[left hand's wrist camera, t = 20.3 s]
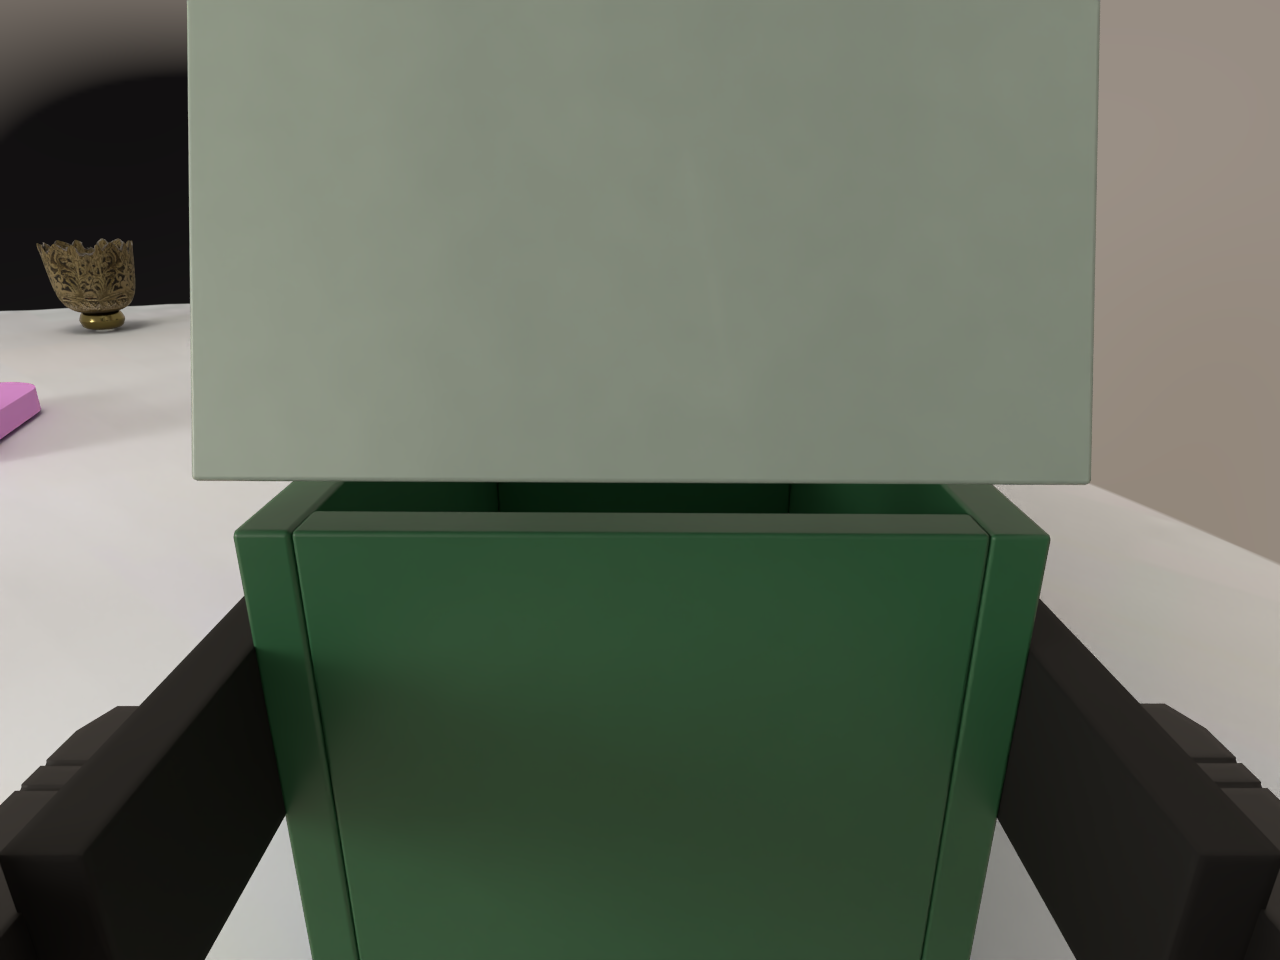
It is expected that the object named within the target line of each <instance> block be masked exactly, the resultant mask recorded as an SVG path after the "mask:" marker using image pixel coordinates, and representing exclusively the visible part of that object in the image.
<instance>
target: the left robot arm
mask: <svg viewBox="0 0 1280 960" xmlns="http://www.w3.org/2000/svg"><path fill="white" fill-rule="evenodd" d="M46 761H47V763H46V765H45V766H40V767H39V768H38V769H37V770H36V771H35V772H34V773H33V774H32V775H31V776H30V777H29V778H28V779H27V780H26V781H25V782H24V783H23V784H22V787H21V790H20V791H14V792H13V793H12V794H11V795H10V796H9V797H8V798H7V799H6V800H5V801H4V802H3V803H2V804H1V805H0V960H205V958H206V956H207V955H208V953H209V951H210V949H211V947H212V946H213V944H214V942H215V940H216V938H217V937H218V935H219V933H220V931H221V930H222V928H223V926H224V924H225V922H226V921H227V919H228V917H229V915H230V913H231V912H232V910H233V908H234V906H235V904H236V903H237V901H238V899H239V897H240V896H241V894H242V892H243V890H244V888H245V887H246V885H247V883H248V881H249V879H250V878H251V876H252V874H253V872H254V870H255V869H256V867H257V865H258V863H259V862H260V860H261V858H262V856H263V854H264V853H265V851H266V849H267V847H268V845H269V844H270V842H271V840H272V838H273V836H274V835H275V833H276V831H277V829H278V827H279V826H280V824H281V822H282V820H283V819H284V817H285V815H286V811H285V806H284V800H283V795H282V790H281V784H280V779H279V774H278V768H277V763H276V758H275V752H274V747H273V742H272V736H271V731H270V726H269V720H268V715H267V710H266V705H265V699H264V694H263V689H262V683H261V678H260V673H259V667H258V662H257V657H256V651H255V646H254V644H253V638H252V633H251V628H250V622H249V617H248V612H247V606H246V601H245V596H244V597H243V598H242V599H241V600H240V601H239V602H238V603H237V604H236V605H235V606H234V607H233V608H232V609H231V610H230V611H229V612H228V614H227V615H226V616H225V617H224V618H223V619H222V620H221V621H220V622H219V623H218V624H217V625H216V626H215V627H214V628H213V629H212V630H211V631H210V632H209V633H208V635H207V636H206V637H205V638H204V639H203V640H202V641H201V642H200V643H199V644H198V645H197V646H196V647H195V648H194V649H193V650H192V651H191V652H190V653H189V654H188V655H187V657H186V658H185V659H184V660H183V661H182V662H181V663H180V664H179V665H178V666H177V667H176V668H175V669H174V670H173V671H172V672H171V673H170V674H169V675H168V676H167V678H166V679H165V680H164V681H163V682H162V683H161V684H160V685H159V686H158V687H157V688H156V689H155V690H154V691H153V692H152V693H151V694H150V695H149V696H148V697H147V699H146V700H145V701H144V702H143V703H142V704H141V705H140V706H117V707H115V708H114V709H112V710H110V711H109V712H107V713H105V714H104V715H102V716H100V717H99V718H97V719H95V720H94V721H92V722H90V723H89V724H87V725H85V726H84V727H82V728H80V729H79V730H77V731H76V732H75V733H74V734H73V735H72V736H71V737H70V738H69V739H68V740H67V741H66V742H65V743H64V744H62V745H61V746H60V747H59V748H58V749H57V750H56V751H55V752H54V753H53V754H52V755H51V756H50V757H49V758H48V759H47V760H46ZM997 818H998V820H999V822H1000V824H1001V825H1002V827H1003V829H1004V831H1005V833H1006V834H1007V836H1008V838H1009V840H1010V842H1011V843H1012V845H1013V847H1014V849H1015V851H1016V852H1017V854H1018V856H1019V858H1020V860H1021V861H1022V863H1023V865H1024V867H1025V868H1026V870H1027V872H1028V874H1029V876H1030V877H1031V879H1032V881H1033V883H1034V885H1035V886H1036V888H1037V890H1038V892H1039V894H1040V895H1041V897H1042V899H1043V901H1044V902H1045V904H1046V906H1047V908H1048V910H1049V911H1050V913H1051V915H1052V917H1053V919H1054V920H1055V922H1056V924H1057V926H1058V928H1059V929H1060V931H1061V933H1062V935H1063V936H1064V938H1065V940H1066V942H1067V944H1068V945H1069V947H1070V949H1071V951H1072V953H1073V954H1074V956H1075V958H1076V960H1280V800H1279V799H1278V798H1277V797H1276V796H1275V795H1274V794H1273V793H1272V792H1271V791H1270V790H1269V789H1268V788H1262V787H1261V781H1260V780H1258V779H1257V778H1256V777H1255V776H1254V775H1253V774H1252V773H1251V772H1250V771H1249V770H1248V769H1247V768H1246V767H1245V766H1244V765H1243V764H1242V763H1237V762H1236V757H1235V756H1234V755H1233V754H1232V753H1231V752H1230V751H1229V750H1228V749H1227V748H1225V747H1224V746H1223V745H1222V744H1221V743H1220V742H1219V741H1218V740H1217V739H1216V738H1215V737H1214V736H1213V735H1212V734H1211V733H1210V732H1209V731H1208V730H1207V729H1206V728H1204V727H1203V726H1201V725H1199V724H1198V723H1196V722H1194V721H1193V720H1191V719H1189V718H1188V717H1186V716H1184V715H1183V714H1181V713H1179V712H1178V711H1176V710H1174V709H1173V708H1171V707H1169V706H1168V705H1166V704H1139V702H1138V701H1137V700H1136V699H1135V698H1134V697H1133V696H1132V695H1131V694H1130V693H1129V692H1128V691H1127V690H1126V689H1125V688H1124V687H1123V686H1122V685H1121V684H1120V683H1119V681H1118V680H1117V679H1116V678H1115V677H1114V676H1113V675H1112V674H1111V673H1110V672H1109V671H1108V670H1107V669H1106V668H1105V667H1104V666H1103V665H1102V664H1101V663H1100V662H1099V661H1098V659H1097V658H1096V657H1095V656H1094V655H1093V654H1092V653H1091V652H1090V651H1089V650H1088V649H1087V648H1086V647H1085V646H1084V645H1083V644H1082V643H1081V642H1080V641H1079V640H1078V638H1077V637H1076V636H1075V635H1074V634H1073V633H1072V632H1071V631H1070V630H1069V629H1068V628H1067V627H1066V626H1065V625H1064V624H1063V623H1062V622H1061V621H1060V620H1059V619H1058V618H1057V616H1056V615H1055V614H1054V613H1053V612H1052V611H1051V610H1050V609H1049V608H1048V607H1047V606H1046V605H1045V604H1044V603H1043V602H1042V601H1041V600H1040V599H1039V601H1038V607H1037V612H1036V617H1035V622H1034V627H1033V633H1032V638H1031V643H1030V648H1029V653H1028V659H1027V664H1026V669H1025V674H1024V679H1023V685H1022V690H1021V695H1020V700H1019V705H1018V711H1017V716H1016V721H1015V726H1014V731H1013V736H1012V742H1011V747H1010V752H1009V757H1008V762H1007V768H1006V773H1005V778H1004V783H1003V788H1002V794H1001V799H1000V804H999V809H998V814H997Z"/></svg>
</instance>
